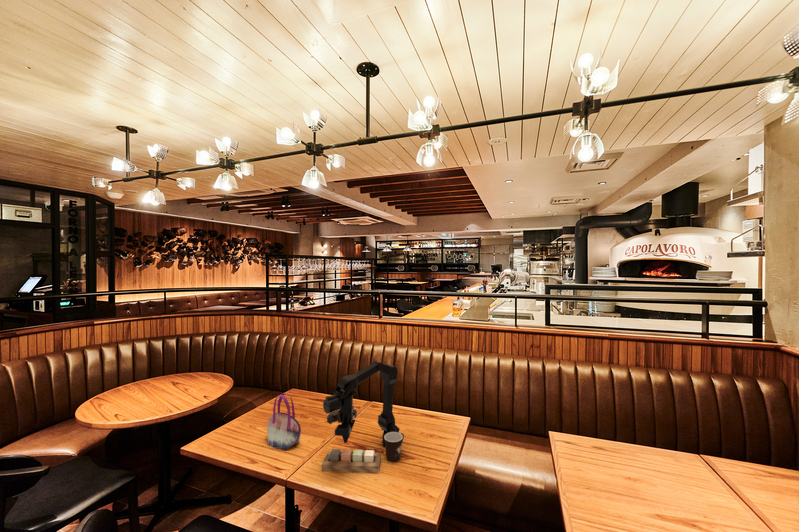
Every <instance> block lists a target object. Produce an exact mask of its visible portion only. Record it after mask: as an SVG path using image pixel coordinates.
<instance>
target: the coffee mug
mask: <svg viewBox="0 0 799 532" xmlns="http://www.w3.org/2000/svg"><path fill="white" fill-rule="evenodd" d="M404 435H405V434H404V433H403V432H402V433H400V432H399V433H398V432H389V433H387V434H386V435H385V436H384V440H385V447H384V448H385V455H386V460H387V461H388V462H389V463H397V462H399V461H400V460H401V456H402V455H401V453H402V447H403V446H402V445H403V440H404V437H405V436H404Z"/></svg>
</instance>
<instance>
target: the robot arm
mask: <svg viewBox="0 0 799 532" xmlns="http://www.w3.org/2000/svg"><path fill="white" fill-rule="evenodd" d="M378 372H380V373H381V374H380V375H381V379H382V381H383V394H382V395H383V398H382V411H381V413H380V414H378V415H377V417H378V418H377V424H378V427H380V430H382V431H383V432H382V435H381V436H382V441H381V442H382V447H384V448H385V440H384V436H385V435H386V434H387V433H389V432H398V433H400V429H401V428H400V427H399V426H397V425H396V418H395V415H394V413H393V405H394V389H395V388H394V387H395V382H396V381H397V380H398V379H397V378H398V374H399V370H398V368H397V367H396V366H394V365H391V364H388V363H385V364H384V363H383V362H380V361H378V360H374V361H373V362H372V363H371V364H369V365H367V366H365V367H363V368H362V369H360V370H359V371H356V372H355V373H352V374H347V375H345V376H342V377H340V378H339V379H338V382H337V384H336V387H335V388H334V390H333V392H332V394H331V395H327V396H325V399H324V400H323V402H322V407H323V411H324V412H325V414H327V416H326V422H327V423H328V424H329V425H332V424H333V423H336V422H337V423H338V424H337V425H336V427H335V429H334V436H335V437H336V436H337V437H338V436H341V437H342V441H343V443H344V444H347V443H348V441H349V438H350V436H351V432H352V430H353V427H354V424H355V422H356V418H357V417H358V411H357V410H356V409H355V407H354V396H356V395H358V393H357V392H356V391H355V390H356V389H357V388H358V387H359V385H360V384H361V383H362V382H363V381H366V380H367V379H369V378H370V377H372V376H374V375H375V374H376V373H378ZM342 391H343V392H342ZM354 418H355V419H354Z"/></svg>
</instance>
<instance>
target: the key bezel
mask: <svg viewBox="0 0 799 532" xmlns="http://www.w3.org/2000/svg"><path fill="white" fill-rule="evenodd" d="M330 452H331V450H328V451H327V453H326V455H325V457H324V459H323V461H322V463H321V472H332V473H333V472H335V473H355V472H356V473H361V474H379V472H380V466H381V461H382V452H374V463H365V462H364V454H365V451H363V461H362V462H341V458H340V461H330ZM353 452H354V451H352V459H351V461H353ZM341 454H342V451H341Z"/></svg>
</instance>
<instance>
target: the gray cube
mask: <svg viewBox="0 0 799 532" xmlns="http://www.w3.org/2000/svg"><path fill="white" fill-rule="evenodd" d="M330 451H331V452H330V461H339V462H341V461H340V458H341V452H342V451H341V448H332V449H331V450H330Z"/></svg>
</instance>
